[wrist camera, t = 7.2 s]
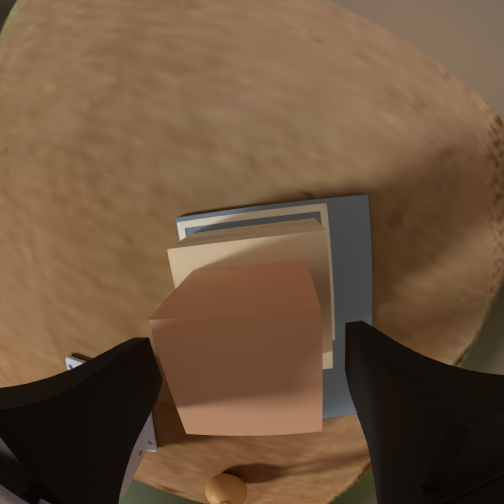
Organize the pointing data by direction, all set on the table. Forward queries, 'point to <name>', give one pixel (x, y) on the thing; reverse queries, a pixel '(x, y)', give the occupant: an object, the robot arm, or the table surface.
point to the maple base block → (262, 258)
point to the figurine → (226, 489)
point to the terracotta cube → (244, 350)
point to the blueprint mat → (340, 269)
